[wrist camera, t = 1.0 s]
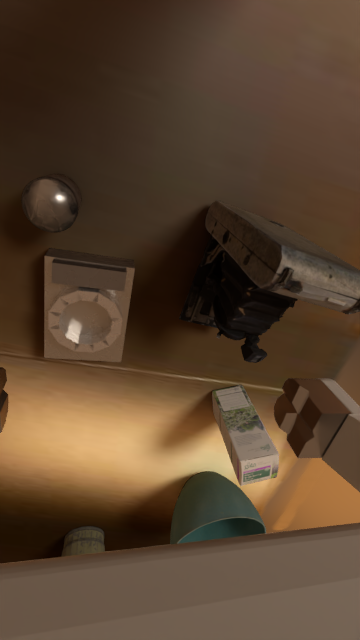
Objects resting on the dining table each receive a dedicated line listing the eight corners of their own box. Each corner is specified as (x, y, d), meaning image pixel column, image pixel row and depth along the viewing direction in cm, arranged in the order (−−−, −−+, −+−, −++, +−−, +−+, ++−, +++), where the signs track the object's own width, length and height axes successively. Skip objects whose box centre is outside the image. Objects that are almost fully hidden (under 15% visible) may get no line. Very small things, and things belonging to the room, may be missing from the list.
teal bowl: (174, 455, 60) (186, 521, 49) (255, 456, 65) (281, 515, 54) (154, 508, 68) (161, 574, 57) (227, 505, 73) (246, 565, 63)
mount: (49, 247, 36) (40, 261, 32) (133, 260, 39) (135, 274, 34) (48, 345, 42) (41, 367, 38) (120, 349, 45) (121, 371, 41)
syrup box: (212, 412, 56) (240, 489, 43) (211, 389, 53) (240, 464, 40) (242, 406, 56) (277, 479, 44) (242, 382, 53) (280, 454, 41)
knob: (35, 167, 32) (20, 172, 27) (84, 177, 33) (78, 183, 28) (36, 215, 34) (22, 227, 29) (81, 222, 35) (76, 236, 30)
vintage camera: (169, 303, 43) (204, 412, 27) (210, 194, 36) (292, 251, 20) (227, 317, 46) (291, 421, 30) (276, 219, 39) (394, 285, 23)
